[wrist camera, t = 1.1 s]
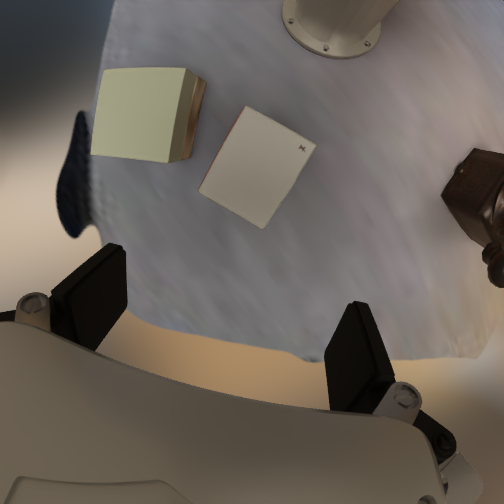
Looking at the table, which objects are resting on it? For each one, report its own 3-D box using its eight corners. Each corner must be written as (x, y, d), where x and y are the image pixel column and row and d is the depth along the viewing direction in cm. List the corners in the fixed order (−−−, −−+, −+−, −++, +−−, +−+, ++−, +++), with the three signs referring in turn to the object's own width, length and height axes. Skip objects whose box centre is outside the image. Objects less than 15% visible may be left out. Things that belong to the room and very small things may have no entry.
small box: (258, 116, 30) (245, 102, 18) (304, 143, 31) (320, 144, 19) (225, 173, 33) (195, 193, 21) (269, 198, 34) (265, 232, 22)
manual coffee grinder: (472, 142, 27) (563, 161, 11) (503, 194, 29) (580, 233, 13) (414, 217, 33) (494, 279, 16) (450, 263, 35) (516, 331, 18)
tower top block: (121, 74, 26) (104, 69, 22) (196, 76, 26) (185, 68, 22) (108, 151, 30) (90, 154, 26) (180, 160, 30) (167, 163, 26)
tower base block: (137, 78, 29) (123, 73, 26) (207, 83, 29) (198, 76, 26) (124, 148, 33) (109, 150, 30) (191, 157, 33) (180, 160, 30)
